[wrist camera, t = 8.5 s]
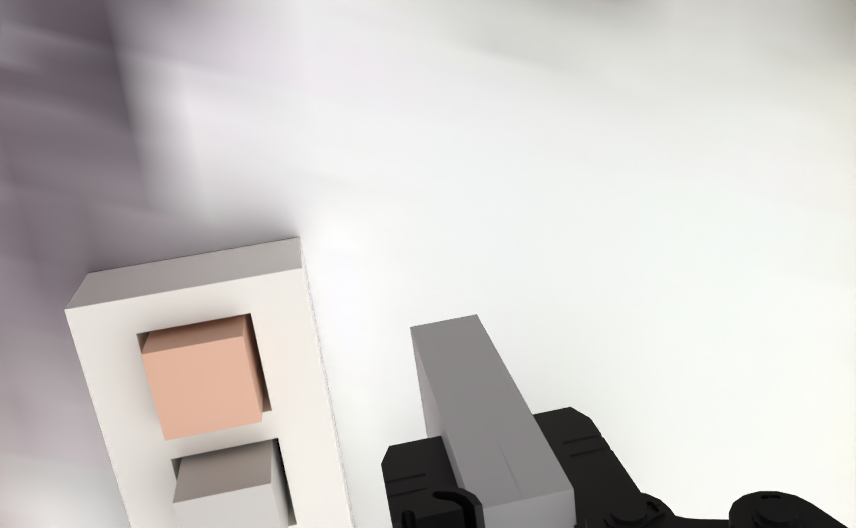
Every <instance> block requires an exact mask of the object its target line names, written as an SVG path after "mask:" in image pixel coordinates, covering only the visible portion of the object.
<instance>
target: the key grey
mask: <svg viewBox="0 0 856 528" xmlns="http://www.w3.org/2000/svg"><path fill="white" fill-rule="evenodd" d="M172 504H173V507H174V511H175V514H176V518H177V521H178V525H179V528H288V489H287V485H286V480H285V475H284V471H283V466H282V462H281V457H280V453H279V448H278V444H277V439H276V438H274V439H269V440H264V441H259V442H254V443H249V444H244V445H239V446H234V447H229V448H224V449H219V450H214V451H209V452H204V453H199V454H194V455H189V456H184V457H182V459H181V464H180V469H179V474H178V479H177V484H176V489H175V494H174V499H173V503H172Z"/></svg>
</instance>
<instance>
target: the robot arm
mask: <svg viewBox="0 0 856 528" xmlns="http://www.w3.org/2000/svg"><path fill="white" fill-rule="evenodd" d="M410 329H411V336H412V342H413V349H414V355H415V361H416V368H417V374H418V381H419V387H420V393H421V400H422V406H423V413H424V419H425V425H426V432H427V436H428V438H426V439H422V440H417V441H412V442H407V443H402V444H397V445H393V446H389V448H388V450H387V452H386V454H385V457H384V459H383V461H382V463H381V466H382V472H383V477H384V483H385V488H386V494H387V499H388V505H389V510H390V516H391V521H392V526H393V528H848V527H846V526H845V525H843V524H842V523H840V522H839V521H837V520H836V519H834V518H833V517H831V516H830V515H828V514H827V513H825V512H824V511H822V510H821V509H819V508H818V507H816V506H815V505H813V504H812V503H810V502H808V501H806V500H804V499H802V498H800V497H798V496H796V495H791V494H787V493H783V492H778V491H758V492H754V493H750V494H747V495H744V496H742V497H741V498H739V499H738V500H736V501H735V502H733V505H732V507H731V509H730V511H729V520H720V519H691V518H683V517H679V516H675V515H674V513H673V512H672V510H671V509H670V508H669V507H668V506H667V505H666V504H664V503H663V502H662V501H661V500H660V499H658V498H655V497H653V496H651V495H648V494H646V493H641V492H640V490H639V489H638V488H637V486H636V485H635V483H634V482H633V480H632V479H631V477H630V476H629V474H628V473H627V471H626V470H625V468H624V467H623V466H622V464H621V463H620V461H619V460H618V458H617V457H616V455H615V454H614V452H613V451H612V450H610V446H609V445H608V443H607V442H606V441H605V439H604V438H603V437H602V436H601V433H600V432H599V430H598V429H597V427H596V426H595V424H594V423H593V421H592V420H591V419H590V418H589V417H587V416H585V415H584V414H582V413H580V412H579V411H577V410H575V409H573V408H572V407H568V408H563V409H558V410H553V411H548V412H543V413H538V414H534V415H532V413H531V411H530V410H529V408H528V406H527V404H526V402H525V401H524V399H523V397H522V395H521V393H520V392H519V390H518V388H517V386H516V384H515V383H514V381H513V379H512V377H511V375H510V374H509V372H508V370H507V368H506V366H505V365H504V363H503V361H502V359H501V357H500V355H499V354H498V352H497V350H496V348H495V346H494V345H493V343H492V341H491V339H490V337H489V336H488V334H487V332H486V330H485V328H484V327H483V325H482V323H481V321H480V319H479V318H478V316H477V314H476V315H471V316H466V317H461V318H456V319H450V320H445V321H440V322H435V323H429V324H424V325H419V326H414V327H410Z"/></svg>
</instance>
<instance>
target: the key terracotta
mask: <svg viewBox="0 0 856 528" xmlns="http://www.w3.org/2000/svg"><path fill="white" fill-rule="evenodd" d="M141 356H142V359H143V363H144V367H145V370H146V374H147V378H148V381H149V385H150V388H151V392H152V396H153V399H154V403H155V406H156V410H157V414H158V417H159V421H160V425H161V428H162V432H163V435H164V439H165V441H167V440H172V439H177V438H182V437H187V436H192V435H197V434H202V433H207V432H213V431H218V430H223V429H228V428H233V427H238V426H243V425H248V424H253V423H258V422H262V408H263V382H264V371H263V367H262V362H261V358H260V353H259V348H258V344H257V339H256V335H255V330H254V326H253V321H252V317H251V313H248V314H242V315H237V316H231V317H226V318H220V319H215V320H209V321H204V322H198V323H193V324H187V325H181V326H176V327H170V328H165V329H159V330H154V331H150V332H149V335H148V337H147V340H146V343H145V346H144V348H143V351H142V354H141Z"/></svg>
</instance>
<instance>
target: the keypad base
mask: <svg viewBox="0 0 856 528" xmlns="http://www.w3.org/2000/svg"><path fill="white" fill-rule="evenodd" d="M64 311H65V314H66V317H67V320H68V324H69V327H70V330H71V334H72V337H73V340H74V343H75V347H76V350H77V353H78V356H79V360H80V363H81V366H82V369H83V373H84V376H85V379H86V382H87V386H88V389H89V392H90V396H91V399H92V402H93V405H94V409H95V412H96V415H97V418H98V422H99V425H100V428H101V431H102V435H103V438H104V441H105V444H106V448H107V451H108V454H109V458H110V461H111V464H112V467H113V471H114V474H115V477H116V480H117V484H118V487H119V490H120V493H121V497H122V500H123V503H124V506H125V510H126V513H127V516H128V520H129V523H130V526H131V528H179V525H178V521H177V518H176V514H175V511H174V507H173V504H172V503H173V499H174V494H175V489H176V484H177V479H178V474H179V469H180V464H181V459H182V457H184V456H189V455H194V454H199V453H204V452H209V451H214V450H219V449H224V448H229V447H234V446H239V445H244V444H249V443H254V442H259V441H264V440H269V439H274V438H278V440H279V444H280V449H281V453H282V458H283V462H284V467H285V472H286V474H284V475H285V480H286V485H287V489H288V528H355V526H354V521H353V516H352V510H351V505H350V500H349V494H348V489H347V484H346V479H345V473H344V468H343V463H342V458H341V452H340V447H339V442H338V436H337V431H336V426H335V421H334V415H333V410H332V405H331V400H330V394H329V389H328V384H327V378H326V373H325V368H324V363H323V357H322V352H321V347H320V341H319V336H318V331H317V326H316V320H315V315H314V310H313V305H312V299H311V294H310V289H309V283H308V278H307V273H306V268H305V262H304V257H303V252H302V247H301V241H300V237H297V238H292V239H286V240H280V241H274V242H268V243H262V244H257V245H251V246H245V247H239V248H233V249H227V250H221V251H216V252H210V253H204V254H198V255H192V256H186V257H180V258H175V259H169V260H163V261H157V262H151V263H145V264H139V265H134V266H128V267H122V268H116V269H110V270H104V271H98V272H93V273H88V274H87V276H86V277H85V279H84V280H83V282H82V283H81V285H80V286H79V288H78V289H77V291H76V292H75V294H74V295H73V297H72V299H71V300H70V302H69V303H68V305H67V306H66V308H65V309H64ZM248 313H251V317H252V321H253V326H254V330H255V335H256V339H257V344H258V348H259V353H260V358H261V362H262V367H263V371H264V382H263V408H262V422H258V423H253V424H248V425H243V426H238V427H233V428H228V429H223V430H218V431H213V432H207V433H202V434H197V435H192V436H187V437H182V438H177V439H172V440H167V441H165V439H164V435H163V432H162V428H161V425H160V421H159V417H158V414H157V410H156V406H155V403H154V399H153V396H152V392H151V388H150V385H149V381H148V378H147V374H146V370H145V367H144V363H143V359H142V356H141V354H142V351H143V348H144V346H145V343H146V340H147V337H148V335H149V332H150V331H154V330H159V329H165V328H170V327H176V326H181V325H187V324H193V323H198V322H204V321H209V320H215V319H220V318H226V317H231V316H237V315H242V314H248Z"/></svg>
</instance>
